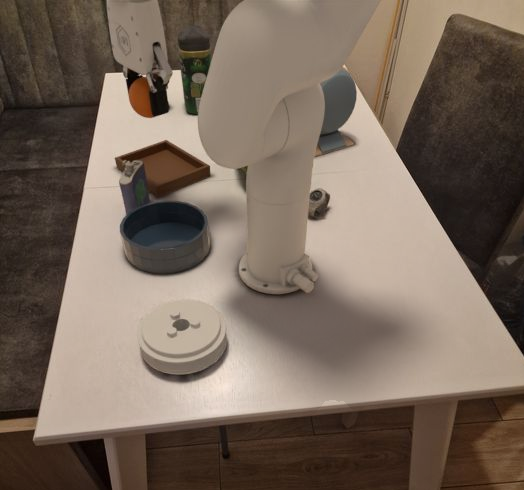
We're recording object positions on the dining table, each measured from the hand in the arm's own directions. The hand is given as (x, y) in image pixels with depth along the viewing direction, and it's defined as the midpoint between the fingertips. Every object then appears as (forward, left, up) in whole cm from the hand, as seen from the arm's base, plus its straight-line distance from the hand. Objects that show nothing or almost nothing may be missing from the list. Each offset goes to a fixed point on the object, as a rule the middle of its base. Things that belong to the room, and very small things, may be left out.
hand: (149, 106), depth 86 cm
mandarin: (0, 0, +2) cm, 2 cm away
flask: (-2, +7, -18) cm, 20 cm away
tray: (+9, -6, -18) cm, 21 cm away
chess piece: (+39, -25, -18) cm, 50 cm away
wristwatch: (-25, -20, -18) cm, 37 cm away
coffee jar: (+32, -33, -18) cm, 50 cm away
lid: (-37, +21, -18) cm, 46 cm away
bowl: (-15, +9, -18) cm, 25 cm away
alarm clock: (-4, -43, -18) cm, 47 cm away
